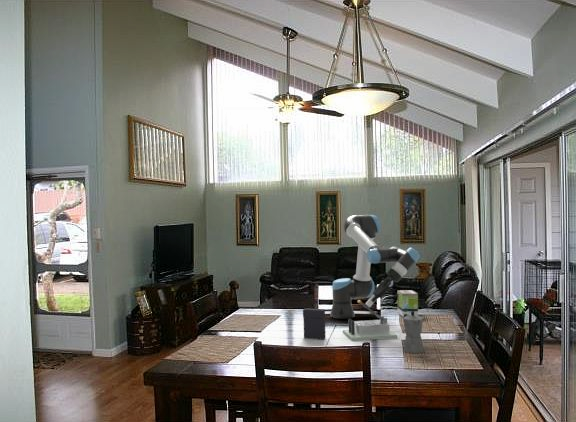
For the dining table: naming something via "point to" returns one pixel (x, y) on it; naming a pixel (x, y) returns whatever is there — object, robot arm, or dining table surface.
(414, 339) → the coffeepot
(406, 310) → the tea box
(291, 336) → the dining table surface
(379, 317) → the lever
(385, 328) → the knife switch
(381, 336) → the board
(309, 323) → the calculator
